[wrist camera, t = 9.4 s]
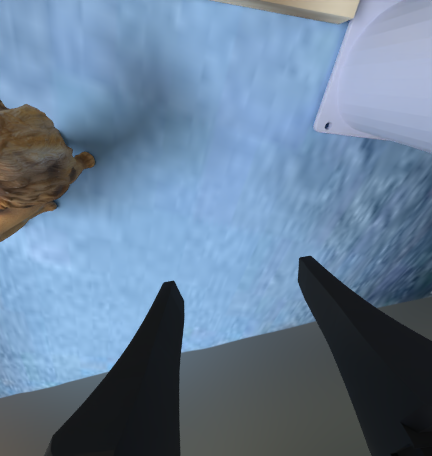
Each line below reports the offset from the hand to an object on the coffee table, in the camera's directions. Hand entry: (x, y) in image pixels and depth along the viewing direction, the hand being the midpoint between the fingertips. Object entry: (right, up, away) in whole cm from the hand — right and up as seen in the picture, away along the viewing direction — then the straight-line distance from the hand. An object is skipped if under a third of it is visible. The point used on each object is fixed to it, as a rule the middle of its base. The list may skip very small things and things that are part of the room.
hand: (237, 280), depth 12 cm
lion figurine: (-15, +8, +5) cm, 18 cm away
